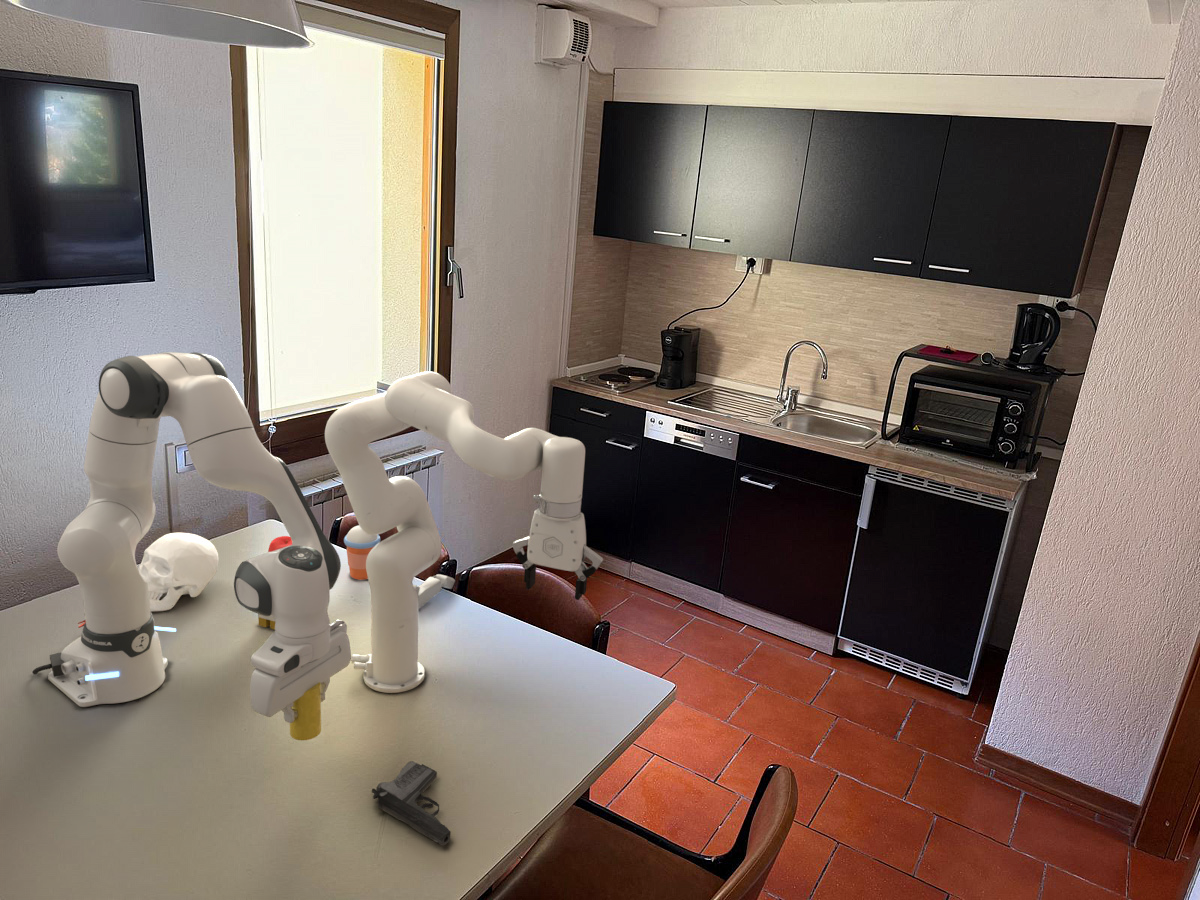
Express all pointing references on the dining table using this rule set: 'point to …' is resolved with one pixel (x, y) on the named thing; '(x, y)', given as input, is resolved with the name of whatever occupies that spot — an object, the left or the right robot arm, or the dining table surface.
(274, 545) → the apple
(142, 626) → the left robot arm
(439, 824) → the handgun
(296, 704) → the yellow cylinder
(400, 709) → the dining table surface
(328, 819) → the dining table surface
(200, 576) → the skull
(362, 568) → the cup with straw
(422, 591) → the clamp
